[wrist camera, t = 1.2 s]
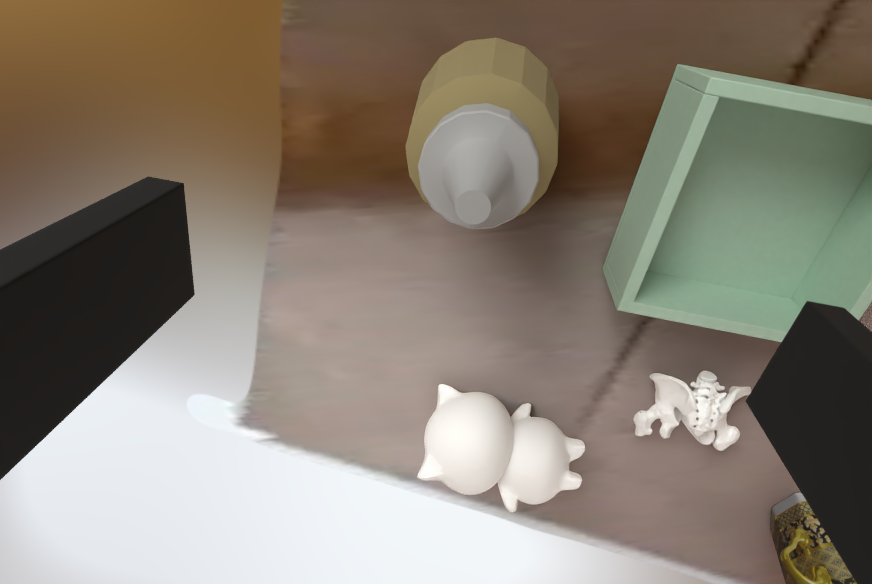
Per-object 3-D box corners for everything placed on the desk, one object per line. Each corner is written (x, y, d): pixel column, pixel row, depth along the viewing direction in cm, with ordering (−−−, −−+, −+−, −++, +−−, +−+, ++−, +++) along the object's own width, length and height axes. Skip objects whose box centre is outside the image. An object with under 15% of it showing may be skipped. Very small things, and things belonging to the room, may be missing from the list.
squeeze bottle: (476, 193, 35) (454, 351, 19) (397, 95, 32) (298, 186, 17) (580, 116, 32) (654, 229, 16) (501, 0, 29) (499, 2, 14)
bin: (677, 63, 30) (710, 76, 25) (912, 107, 29) (993, 129, 25) (601, 269, 37) (616, 310, 32) (792, 306, 36) (836, 353, 31)
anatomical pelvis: (632, 451, 40) (663, 391, 36) (623, 410, 43) (650, 351, 39) (737, 469, 39) (780, 411, 35) (720, 426, 43) (757, 368, 39)
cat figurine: (585, 525, 36) (421, 481, 35) (530, 527, 45) (400, 492, 44) (595, 405, 40) (449, 362, 39) (543, 429, 49) (423, 395, 48)
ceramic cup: (900, 510, 44) (995, 633, 36) (802, 563, 49) (865, 683, 41) (790, 443, 42) (864, 557, 34) (698, 505, 47) (742, 619, 38)
